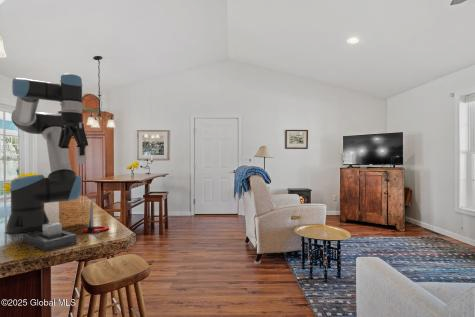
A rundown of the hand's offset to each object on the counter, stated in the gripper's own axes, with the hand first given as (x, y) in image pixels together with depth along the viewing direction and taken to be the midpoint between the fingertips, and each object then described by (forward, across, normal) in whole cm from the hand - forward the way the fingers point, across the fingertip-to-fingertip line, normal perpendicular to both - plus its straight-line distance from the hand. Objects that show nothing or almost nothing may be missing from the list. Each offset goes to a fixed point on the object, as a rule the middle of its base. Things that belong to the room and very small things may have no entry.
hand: (72, 163), depth 111 cm
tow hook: (+29, +5, +7) cm, 30 cm away
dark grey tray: (+29, +6, -11) cm, 31 cm away
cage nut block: (+29, +8, -11) cm, 32 cm away
